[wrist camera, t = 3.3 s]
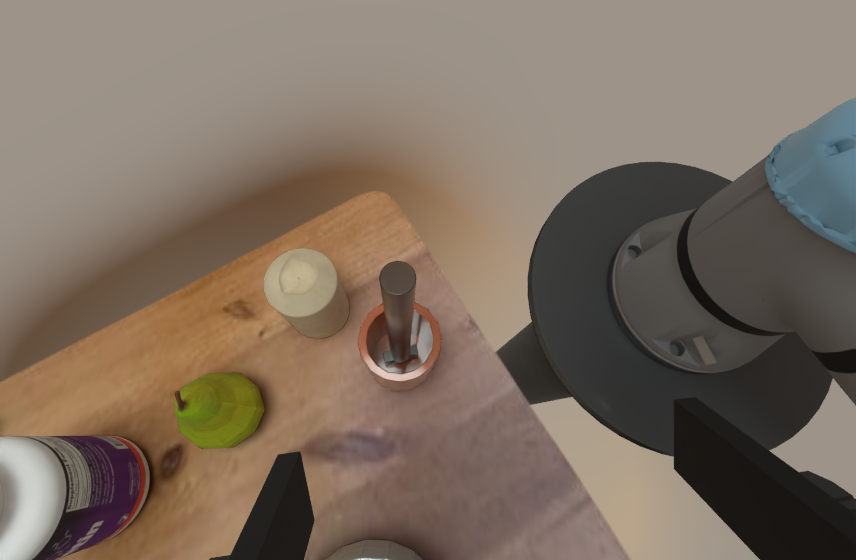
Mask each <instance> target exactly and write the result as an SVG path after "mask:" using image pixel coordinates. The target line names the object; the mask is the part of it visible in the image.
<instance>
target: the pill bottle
mask: <svg viewBox="0 0 856 560" xmlns="http://www.w3.org/2000/svg"><path fill="white" fill-rule="evenodd" d="M149 483H150V472H149V467H148V464H147V461H146V459H145V457H144V455H143V453H142V452H141V450H140V449H139V448H138V447H137V446H136V445H135V444H133V443H132V442H130V441H129V440H127V439H124V438H122V437H118V436H110V435H93V436H11V437H0V560H56V559H59V558H62V557H64V556H67V555H70V554H72V553H75V552H78V551H81V550H83V549H86V548H89V547H92V546H94V545H97V544H100V543H102V542H104V541H107V540H109V539H111V538H112V537H114V536H115V535H117V534H118V533H120V532H121V531H122V530H124V529H125V528H126V527H127V526H128V525H129V524H130V523H131V522H132V521H133V519H134V518H135V517H136V516H137V514H138V513H139V511H140V510H141V508H142V506H143V504H144V502H145V499H146V497H147V493H148V490H149Z"/></svg>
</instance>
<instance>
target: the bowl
mask: <svg viewBox="0 0 856 560" xmlns="http://www.w3.org/2000/svg"><path fill="white" fill-rule="evenodd" d="M325 560H423V559H422V558H421V557H420V556H419V555H418V554H416V553H415V552H414V551H413V550H411V549H409V548H406V547H404V546H402V545H399V544H397V543H395V542H392V541H391V542H390V541H383V540H364V541H360V542H357V543H354V544H350V545H347V546H344V547H342V548H340V549H339V550H337V551H336V552H334V553H333V554H332V555H330V556H329V557H327V558H326V559H325Z"/></svg>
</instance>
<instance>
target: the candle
mask: <svg viewBox="0 0 856 560" xmlns="http://www.w3.org/2000/svg"><path fill="white" fill-rule="evenodd" d="M264 292H265V295H266V298H267V300H268V302H269V303H270V304H271V306H272V307H273V308H274V309H275V310H277V311H278V312H279V313H280V314H281V315H282V316H283V317H284V318H285V319H286V320H287V321H288V322H289V323H290V324H291V325H292V326H294V327H295V328H296V329H297V330H298V331H299V332H300V333H302V334H304V335H305V336H308V337H312V338H325V337H329V336H331V335H333V334H335V333H336V332H338V331H339V330H340V329H341V328H342V327H343V326H344V324H345V322H346V321H347V318H348V315H349V302H348V298H347V296H346V293H345V291H344V289H343V286H342V284H341V281H340V279H339V277H338V274H337V272H336V270H335V268H334V265H333V264H332V262H331V261H330V260H329V259H328V258H327V257H326V256H325V255H324V254H322V253H320V252H318V251H316V250H312V249H306V248H300V249H294V250H290V251H288V252H285V253H284V254H282V255H280V256H279V257H278V258H276V259H275V260H274V261H273V262H272V264H271V265H270V266H269V268H268V270H267V272H266V275H265V278H264Z"/></svg>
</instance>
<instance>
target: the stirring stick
mask: <svg viewBox="0 0 856 560" xmlns="http://www.w3.org/2000/svg"><path fill="white" fill-rule="evenodd" d="M379 281H380V287H381V293H382V300H383V306H384V312H385V318H386V325H387V331H388V337H389V343H390V350H391V351H387V352H383V358H384V362H385V365H386V366H387V365H391V364H394V363H398V362H405V361H406V360H410V359H414V358H418V354H419V353H418V350H417V346H416V344H414V345H411V334H412V323H413V311H414V300H415V288H416V274H415V271H414V269H413V268H412V267H411V266H410V265H409V264H407V263H405V262H402V261H394V262H391V263H389V264H387V265H386V266H385V267H384V268H383V269H382V270H381V273H380V276H379Z"/></svg>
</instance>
